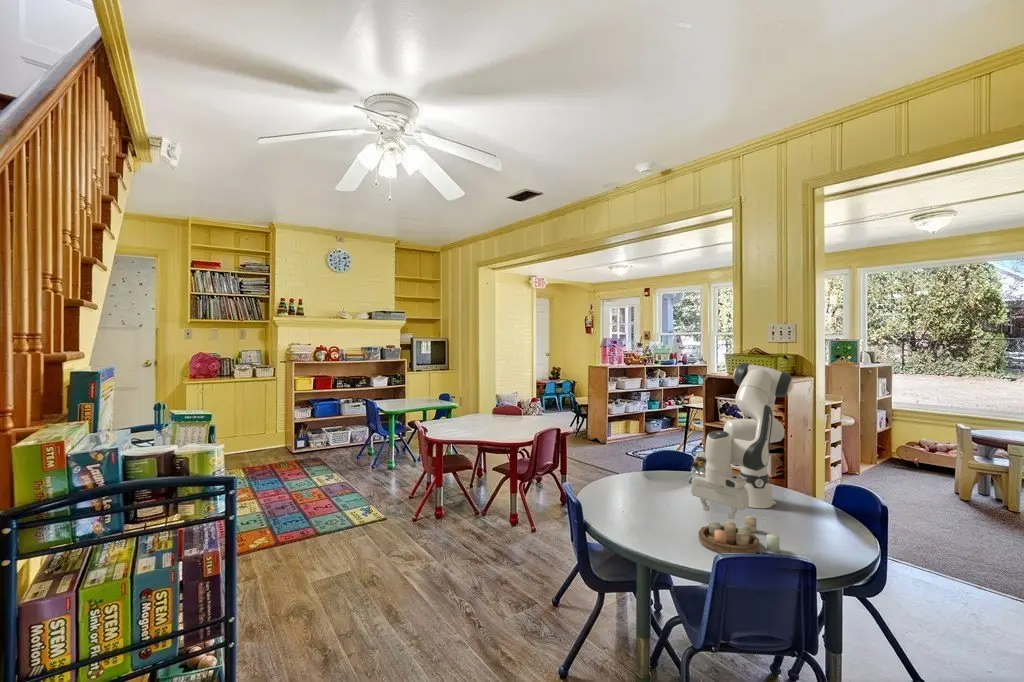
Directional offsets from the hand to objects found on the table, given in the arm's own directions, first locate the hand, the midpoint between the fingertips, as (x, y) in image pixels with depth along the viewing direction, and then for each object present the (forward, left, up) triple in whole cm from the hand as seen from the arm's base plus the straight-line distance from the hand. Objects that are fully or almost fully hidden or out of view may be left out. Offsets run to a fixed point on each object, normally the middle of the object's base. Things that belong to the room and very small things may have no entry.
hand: (718, 514), depth 168 cm
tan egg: (-16, +17, -12) cm, 27 cm away
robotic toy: (-82, +17, -12) cm, 85 cm away
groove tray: (-3, +4, -12) cm, 13 cm away
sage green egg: (+1, +18, -12) cm, 22 cm away
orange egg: (+1, 0, -11) cm, 11 cm away
